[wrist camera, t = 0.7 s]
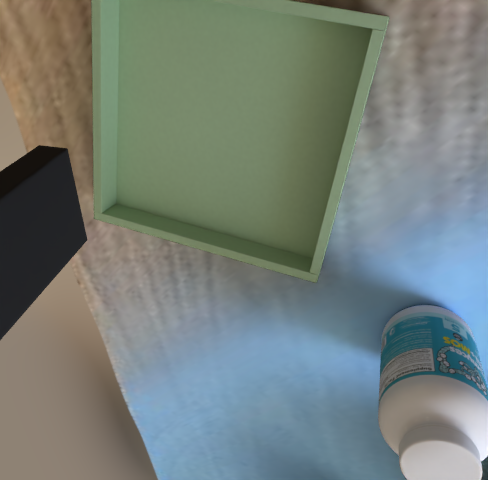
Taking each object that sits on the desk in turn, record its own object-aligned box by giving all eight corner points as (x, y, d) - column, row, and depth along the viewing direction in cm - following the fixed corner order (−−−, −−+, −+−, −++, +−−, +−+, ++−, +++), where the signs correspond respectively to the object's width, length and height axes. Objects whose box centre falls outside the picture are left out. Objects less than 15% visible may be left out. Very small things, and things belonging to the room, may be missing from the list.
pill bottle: (488, 357, 38) (531, 505, 26) (405, 380, 41) (410, 520, 29) (449, 287, 36) (476, 411, 24) (366, 317, 39) (354, 438, 28)
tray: (115, -28, 33) (90, -33, 31) (389, 17, 30) (389, 16, 27) (112, 207, 43) (93, 219, 40) (321, 266, 39) (316, 283, 36)
